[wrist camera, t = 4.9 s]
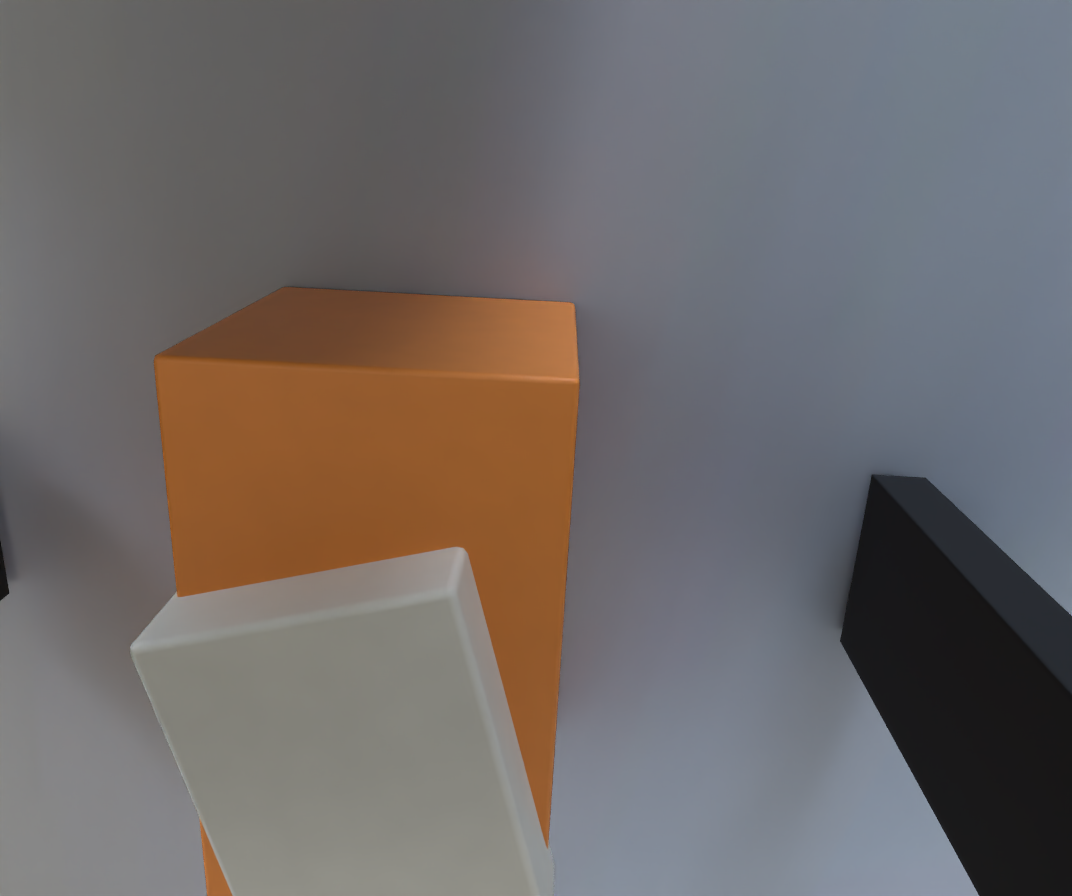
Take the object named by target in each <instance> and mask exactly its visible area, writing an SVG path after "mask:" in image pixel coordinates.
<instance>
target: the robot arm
mask: <svg viewBox="0 0 1072 896" xmlns="http://www.w3.org/2000/svg"><path fill="white" fill-rule="evenodd" d="M8 594H9V589H8V583H7V577H6V571H5V566H4V560H3V554H2V548H1V543H0V601H1V600H2V599H3V598H4V597H5V596H7V595H8ZM840 642H841V643H842V645H843V647H844V649H845V651H846V653H847V654H848V656H849V658H850V660H851V662H852V664H853V665H854V667H855V669H856V671H857V673H858V675H859V676H860V678H861V680H862V682H863V684H864V686H865V687H866V689H867V691H868V693H869V695H870V697H871V698H872V700H873V702H874V704H875V706H876V708H877V709H878V711H879V713H880V715H881V717H882V718H883V720H884V722H885V724H886V726H887V728H888V729H889V731H890V733H891V735H892V737H893V739H894V740H895V742H896V744H897V746H898V748H899V750H900V751H901V753H902V755H903V757H904V759H905V761H906V762H907V764H908V766H909V768H910V770H911V772H912V773H913V775H914V777H915V779H916V781H917V783H918V784H919V786H920V788H921V790H922V792H923V794H924V795H925V797H926V799H927V801H928V803H929V804H930V806H931V808H932V810H933V812H934V814H935V815H936V817H937V819H938V821H939V823H940V825H941V826H942V828H943V830H944V832H945V834H946V836H947V837H948V839H949V841H950V843H951V845H952V847H953V848H954V850H955V852H956V854H957V856H958V858H959V859H960V861H961V863H962V865H963V867H964V869H965V870H966V872H967V874H968V876H969V878H970V880H971V881H972V883H973V885H974V887H975V889H976V890H977V892H978V894H979V896H1072V616H1071V615H1070V614H1069V613H1068V612H1067V611H1066V610H1065V609H1064V608H1063V607H1062V606H1060V605H1059V604H1058V603H1057V602H1056V601H1055V600H1054V599H1053V598H1052V597H1051V596H1050V595H1049V594H1048V593H1047V592H1046V591H1045V590H1044V589H1043V588H1041V587H1040V586H1039V585H1038V584H1037V583H1036V582H1035V581H1034V580H1033V579H1032V578H1031V577H1030V576H1029V575H1028V574H1027V573H1026V572H1025V571H1023V570H1022V569H1021V568H1020V567H1019V566H1018V565H1017V564H1016V563H1015V562H1014V561H1013V560H1012V559H1011V558H1010V557H1009V556H1008V555H1007V554H1006V553H1004V552H1003V551H1002V550H1001V549H1000V548H999V547H998V546H997V545H996V544H995V543H994V542H993V541H992V540H991V539H990V538H989V537H988V536H986V535H985V534H984V533H983V532H982V531H981V530H980V529H979V528H978V527H977V526H976V525H975V524H974V523H973V522H972V521H971V520H970V519H968V518H967V517H966V516H965V515H964V514H963V513H962V512H961V511H960V510H959V509H958V508H957V507H956V506H955V505H954V504H953V503H952V502H951V501H949V500H948V499H947V498H946V497H945V496H944V495H943V494H942V493H941V492H940V491H939V490H938V489H937V488H936V487H935V486H934V485H933V484H931V483H930V482H929V481H928V480H927V479H926V478H919V477H902V476H884V475H872V477H871V483H870V488H869V493H868V498H867V504H866V509H865V514H864V519H863V524H862V530H861V535H860V540H859V545H858V551H857V556H856V561H855V566H854V572H853V577H852V582H851V587H850V593H849V598H848V603H847V608H846V614H845V619H844V624H843V629H842V635H841V640H840Z"/></svg>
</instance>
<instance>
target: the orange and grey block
mask: <svg viewBox="0 0 1072 896" xmlns="http://www.w3.org/2000/svg"><path fill="white" fill-rule="evenodd" d="M154 370H155V380H156V390H157V400H158V410H159V419H160V429H161V439H162V449H163V459H164V469H165V479H166V489H167V499H168V509H169V519H170V529H171V539H172V549H173V559H174V569H175V579H176V589H177V592H176V593H175V594H174V595H173V596H172V598H171V599H170V600H169V601H168V602H167V603H166V605H165V606H164V607H163V608H162V609H161V610H160V612H159V613H158V614H157V615H156V616H155V617H154V619H153V620H152V621H151V622H150V623H149V624H148V626H147V627H146V628H145V629H144V630H143V632H142V633H141V634H140V635H139V636H138V637H137V639H136V640H135V641H134V642H133V643H132V644H131V648H130V655H131V658H132V660H133V662H134V665H135V667H136V669H137V672H138V674H139V677H140V679H141V681H142V684H143V686H144V688H145V691H146V693H147V695H148V698H149V700H150V702H151V705H152V707H153V709H154V712H155V714H156V717H157V719H158V721H159V724H160V726H161V728H162V731H163V733H164V735H165V738H166V740H167V742H168V745H169V747H170V749H171V752H172V754H173V757H174V759H175V761H176V764H177V766H178V768H179V771H180V773H181V775H182V778H183V780H184V782H185V785H186V787H187V790H188V792H189V794H190V797H191V799H192V801H193V804H194V806H195V808H196V811H197V813H198V815H199V818H200V828H201V838H202V848H203V858H204V868H205V878H206V888H207V896H554V860H553V856H552V853H551V849H550V845H549V827H550V813H551V798H552V784H553V769H554V754H555V740H556V725H557V710H558V696H559V681H560V666H561V652H562V637H563V622H564V608H565V593H566V579H567V564H568V549H569V535H570V520H571V505H572V491H573V476H574V461H575V447H576V432H577V417H578V403H579V388H580V379H579V362H578V346H577V329H576V312H575V305H574V304H573V303H571V302H553V301H535V300H516V299H498V298H480V297H462V296H443V295H425V294H407V293H388V292H370V291H352V290H333V289H315V288H297V287H283V288H281V289H279V290H277V291H275V292H273V293H271V294H269V295H267V296H266V297H264V298H262V299H260V300H258V301H256V302H254V303H253V304H251V305H249V306H247V307H245V308H243V309H241V310H239V311H238V312H236V313H234V314H232V315H230V316H228V317H226V318H225V319H223V320H221V321H219V322H217V323H215V324H213V325H211V326H210V327H208V328H206V329H204V330H202V331H200V332H198V333H196V334H195V335H193V336H191V337H189V338H187V339H185V340H183V341H182V342H180V343H178V344H176V345H174V346H172V347H170V348H168V349H167V350H165V351H163V352H161V353H159V354H157V355H155V358H154Z"/></svg>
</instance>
